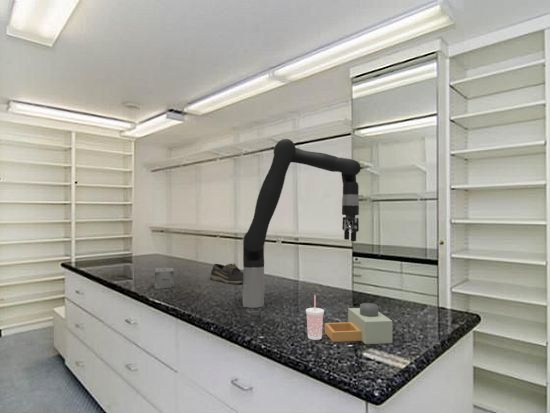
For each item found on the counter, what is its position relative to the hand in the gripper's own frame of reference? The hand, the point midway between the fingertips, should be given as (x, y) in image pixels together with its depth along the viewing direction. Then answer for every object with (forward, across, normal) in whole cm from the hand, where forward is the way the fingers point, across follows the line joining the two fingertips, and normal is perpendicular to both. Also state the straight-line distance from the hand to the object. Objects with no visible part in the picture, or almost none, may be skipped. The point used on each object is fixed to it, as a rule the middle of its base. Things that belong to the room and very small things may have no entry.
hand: (350, 240), depth 163 cm
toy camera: (+29, +40, -13) cm, 51 cm away
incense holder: (+30, -44, -88) cm, 103 cm away
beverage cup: (+29, +40, -27) cm, 56 cm away
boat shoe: (+30, -57, -53) cm, 83 cm away
